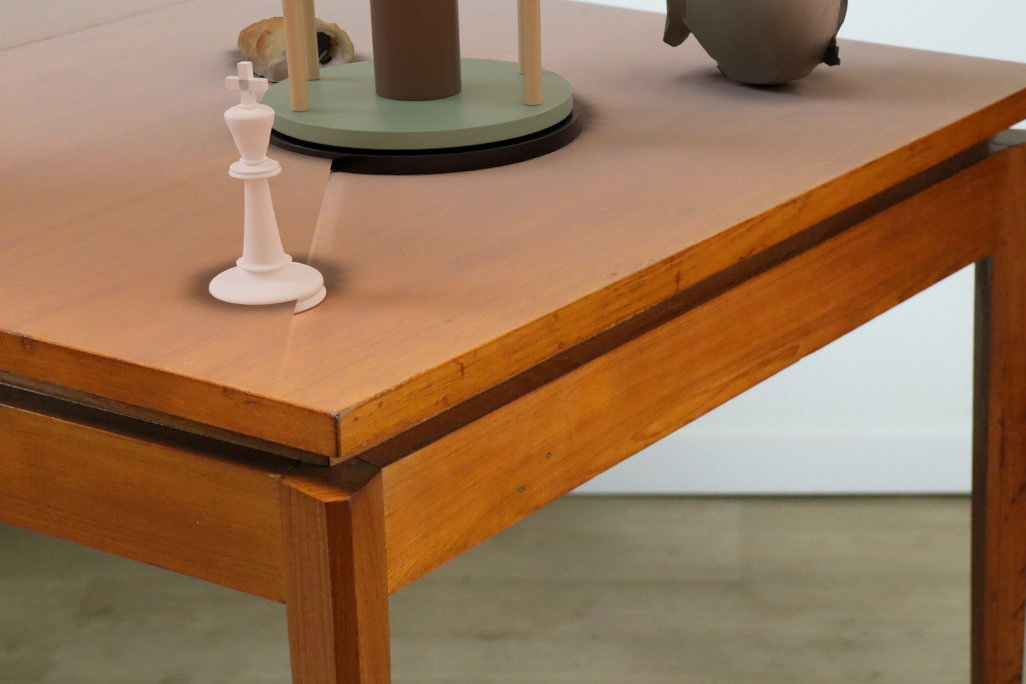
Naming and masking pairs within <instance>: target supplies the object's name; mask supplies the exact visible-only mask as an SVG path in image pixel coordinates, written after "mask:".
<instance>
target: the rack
mask: <svg viewBox="0 0 1026 684" xmlns="http://www.w3.org/2000/svg"><path fill="white" fill-rule="evenodd" d="M281 4H282V5H281V7H282V17H283V19H284V31H285V42H286V53H287V65H288V76H289V78H287V79H285V80H282V81H280V82H275V84H272V85H271V86H270V87H268V88H269V89H268V90H266V91H264V92H263V94H262V99H261V104H263V105H267V106H269V107H271V108H272V109H273V110H274V112H275V117H274V122H273V126H272V128H273V129H275V130H276V131H278V132H281V133H283V134H285V135H288V136H291V137H294V138H297V139H301V140H305V141H309V142H314V143H319V144H326V145H332V146H340V147H350V148H363V149H387V150H411V149H437V148H449V147H461V146H469V145H477V144H484V143H491V142H497V141H502V140H507V139H511V138H516V137H520V136H524V135H527V134H531V133H534V132H537V131H540V130H543V129H546V128H548V127H550V126H552V125H555V124H557V123H558V122H560V121H562V120H563V119H565V118H566V117H567V116H568V115H569V114H570V113H571V110H572V108H573V98H574V89H573V85H572V84H571V82H570V81H569V80H568V79H566V78H565V77H564V76H562V75H561V74H559V73H556V72H554V71H551V70H548V69H545V68H542V26H541V25H542V24H541V23H542V21H541V20H542V19H541V17H542V15H541V0H516V7H517V8H516V11H517V13H516V15H517V51H518V53H517V54H518V62H514V61H509V60H501V59H500V60H499V59H491V58H479V57H462V56H461V39H460V38H461V37H460V36H461V35H460V16H459V15H460V14H459V0H369V8H370V9H369V10H370V11H369V13H370V24H371V27H370V28H371V39H372V40H371V42H372V55H373V56H372V57H373V60H363V61H355V62H350V63H347V64H341V65H335V66H330V67H325V68H320V69H319V58H318V46H317V33H316V20H315V18H316V11H315V10H316V9H315V0H281Z"/></svg>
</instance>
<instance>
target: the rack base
mask: <svg viewBox="0 0 1026 684" xmlns="http://www.w3.org/2000/svg"><path fill="white" fill-rule="evenodd" d="M582 116H583V115H582V106H581V104H580V103H579V101H578V100H577V99H576V98H575V97H573V108H572V110H571V113H570V114H569V115H568V116H567V117H566V118H565V119H563V120H562V121H560V122H558V123H557V124H555V125H552V126H550V127H548V128H546V129H543V130H540V131H537V132H534V133H531V134H527V135H524V136H520V137H516V138H511V139H507V140H502V141H497V142H491V143H484V144H477V145H469V146H461V147H449V148H437V149H411V150H387V149H363V148H350V147H340V146H332V145H326V144H319V143H314V142H309V141H305V140H301V139H297V138H294V137H291V136H288V135H285V134H283V133H281V132H278V131H276V130H275V129H273V128H272V129H271V133H270V138H269V144H270V145H273V146H275V147H277V148H280V149H282V150H286V151H289V152H291V153H295V154H299V155H304V156H308V157H314V158H320V159H327V160H331V163H330V168H329V171H338V172H345V173H346V172H347V173H358V174H371V175H376V174H377V175H378V174H379V175H423V174H426V175H427V174H443V173H454V172H464V171H465V172H466V171H473V170H481V169H482V170H483V169H488V168H493V167H499V166H500V167H501V166H505V165H511V164H514V163H518V162H523V161H526V160H531V159H534V158H537V157H540V156H544V155H545V154H549V153H551V152H554V151H557V150H559V149H560V148H562V147H564V146H566V145H568V144H570V143H571V142H572V141H574V140H575V139H576V138H577V137H578V135H579V134H580V132H581V129H582V128H583V127H582V126H583V125H582V124H583V123H582V119H583V118H582Z"/></svg>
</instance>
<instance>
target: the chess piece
mask: <svg viewBox="0 0 1026 684" xmlns="http://www.w3.org/2000/svg"><path fill="white" fill-rule="evenodd" d="M236 67H237V69H236V70H237V75H228V76H226V77H224V87H225V90H233V91H239V100H240V103H238V104H237V105H234V106H233V105H232V106H230V107H229V108H227V109H226V110H225V111H224V113H223V118H224V121H225V123H226V126H227V128H228V130H229V131H230V133H231V136H232V138H233V141H234V144H235V146H236V148H237V151H238V152H239V154H240V156H241V157H240V158H239V160H238V161H235V162H233V163H231V164H230V165H229V170H228V175H229V176H230V177H231V178H233V179H237V180H243V181H244V182H243V183H244V225H243V227H244V228H243V249H242V256H240V257H239V258H237V260H236V262H235V265H236V266H233V267H230V268H228V269H225V270H224V271H222V272H220V273H218V274H217V275H215V277H213V279H211V281H210V283H209V286H208V291H209V293H210V294H211V296H213V297H214V298H216V300H217V299H218V300H220V301H223V302H226V303H231V304H235V305H236V304H237V305H247V306H249V305H250V306H251V305H252V306H260V305H261V306H262V305H274V304H281V303H286V302H291V301H295V300H296V303H295V308H294V310H293V311H294V312H293V314H294V315H295V314H298V313H301V312H305V311H307V310H309V309H312V308H314V307H316V306H317V305H319V304H321V302H322V301H324V299H325V298H326V295H327V289H326V287H325V285H324V283H325V282H324V277H323V275H322V273H321V272H320V271H319V270H317V269H316V268H314V267H312V266H310V265H308V264H304V263H301V262H297V261H293V258H292V256H291V255H290V254H289V253H286V252H285V250H284V247H283V244H282V240H281V236H280V232H279V228H278V223H277V219H276V214H275V210H274V209H275V208H274V205H273V200H272V194H271V189H270V185H269V179H270V178H274V177H276V176H278V175H279V174H281V172H282V170H283V169H282V167H281V165H280V162H279V161H277V160H275V159H273V158H269V156H267V152H268V149H269V148H268V147H269V144H270V143H269V138H270V133H271V129H272V126H273V122H274V117H275V112H274V110H273V109H272V108H271V107H269V106H267V105H263V104H262V103H259V102H257V98H256V92H261V93H262V92H263V93H265V92H266V91H267V90H268V89H269V88H270V87H269V81H268V78H264V77H254V71H253V67H252V62H246V61H245V60H242V61H239V62H238V63H236Z"/></svg>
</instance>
